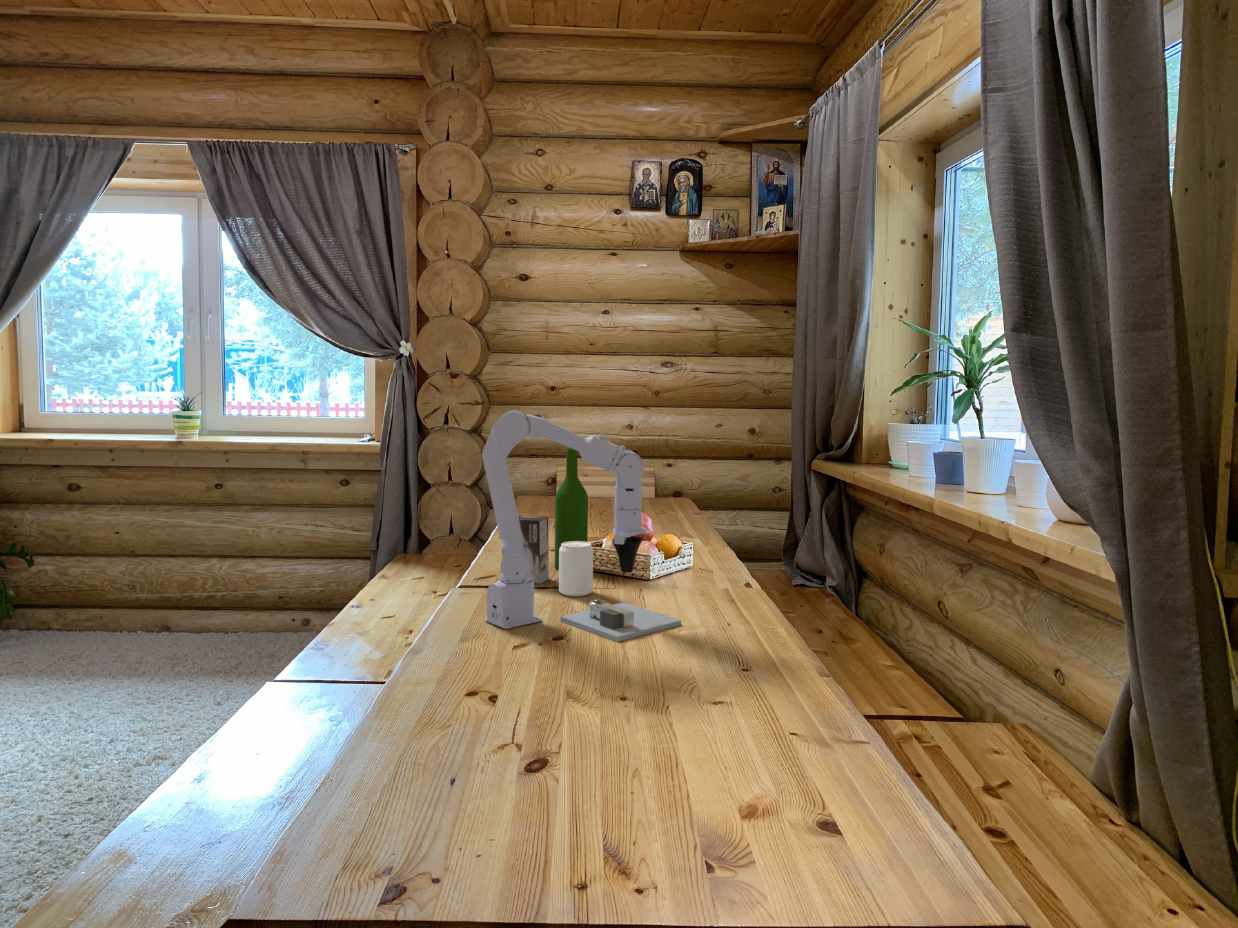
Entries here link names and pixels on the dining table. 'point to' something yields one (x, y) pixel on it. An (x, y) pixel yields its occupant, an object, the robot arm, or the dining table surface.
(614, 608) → the latch bar
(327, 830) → the dining table surface
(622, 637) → the latch board
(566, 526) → the wine bottle
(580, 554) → the beverage can
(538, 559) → the coffee box
